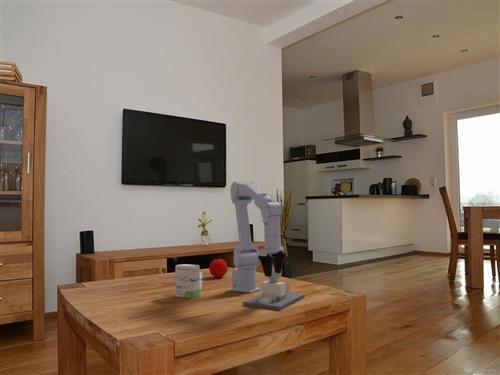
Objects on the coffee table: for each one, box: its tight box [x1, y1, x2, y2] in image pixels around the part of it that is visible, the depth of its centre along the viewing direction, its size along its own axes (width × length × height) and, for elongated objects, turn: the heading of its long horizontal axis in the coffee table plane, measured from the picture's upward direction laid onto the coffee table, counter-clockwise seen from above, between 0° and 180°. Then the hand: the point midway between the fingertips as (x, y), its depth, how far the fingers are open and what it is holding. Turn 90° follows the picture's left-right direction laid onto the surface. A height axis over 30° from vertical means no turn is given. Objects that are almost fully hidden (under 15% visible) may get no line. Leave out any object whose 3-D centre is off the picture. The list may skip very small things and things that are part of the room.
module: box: [260, 280, 287, 301], centre depth 129 cm, size 8×4×6 cm, turn 59°
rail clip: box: [286, 282, 290, 292], centre depth 136 cm, size 4×2×3 cm, turn 59°
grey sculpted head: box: [267, 266, 283, 281], centre depth 165 cm, size 6×7×7 cm
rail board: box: [242, 290, 305, 311], centre depth 130 cm, size 14×20×3 cm
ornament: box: [208, 256, 229, 278], centre depth 179 cm, size 9×9×10 cm
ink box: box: [174, 263, 201, 299], centre depth 140 cm, size 9×5×12 cm, turn 59°
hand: (273, 274), depth 130 cm, fingers open, 7 cm apart
